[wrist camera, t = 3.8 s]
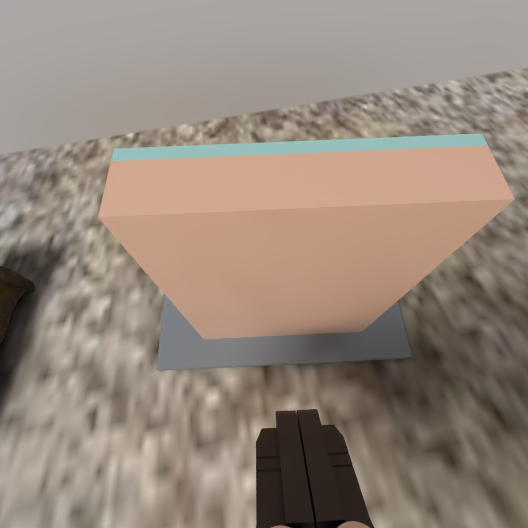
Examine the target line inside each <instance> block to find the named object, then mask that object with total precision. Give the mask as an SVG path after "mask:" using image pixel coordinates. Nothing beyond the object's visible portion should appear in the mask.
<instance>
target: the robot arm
mask: <svg viewBox="0 0 528 528" xmlns="http://www.w3.org/2000/svg"><path fill="white" fill-rule="evenodd" d="M256 506H257V525H256V528H374V526H373V524H372V522H371V520H370V517H369V515H368V511H367V508H366V505H365V502H364V499H363V496H362V493H361V490H360V487H359V483H358V480H357V477H356V474H355V471H354V468H353V466H352V462H351V459H350V455H349V454H348V449H347V446H346V443H345V440H344V437H343V436H342V434H341V433H340V432H339V431H338V430H337V428H336V427H335V426H334V425H321V422H320V418H319V414H318V411H317V409H311V410H297V415H296V411H295V410H294V411H276V428H264V429H262V430H261V432H260V434H259V437H258V439H257V441H256Z"/></svg>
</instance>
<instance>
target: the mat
mask: <svg viewBox="0 0 528 528" xmlns="http://www.w3.org/2000/svg"><path fill="white" fill-rule="evenodd" d="M411 357H412V354H411V350H410V346H409V342H408V338H407V334H406V330H405V326H404V322H403V318H402V314H401V310H400V306H399V302H398V301H397V302H396V303H394V304H393V305H392V306H391V307H390V308H389V309H388V310H386V311H385V312H384V313H383V314H382V315H381V316H379V317H378V318H377V319H376V320H375V321H374V322H373V323H371V324H370V325H369V326H368V327H367V328H366V329H365V330H363V331H362V332H348V333H327V334H306V335H285V336H264V337H243V338H222V339H203V338H202V337H201V336H200V334H199V333H198V332H197V331H196V330H195V329H194V328H193V326H192V325H191V324H190V323H189V322H188V321H187V319H186V318H185V317H184V316H183V315H182V314H181V312H180V311H179V310H178V309H177V308H176V307H175V306H174V304H173V303H172V302H171V301H170V300H169V299H168V297H167V296H166V295H165V294H164V304H163V313H162V323H161V332H160V342H159V351H158V361H157V370H160V371H164V370H184V369H205V368H225V367H246V366H266V365H287V364H307V363H328V362H348V361H369V360H389V359H408V358H411Z"/></svg>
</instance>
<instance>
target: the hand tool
mask: <svg viewBox="0 0 528 528" xmlns="http://www.w3.org/2000/svg"><path fill="white" fill-rule="evenodd" d="M33 290H34V283H33V282H32V281H30V280H28V279H26V278H24V277H23V276H21V275H20V274H18V273H16V272H14V271H12V270H10V269H7V268H4V267H1V266H0V345H1V342H2V341H3V339H4V337H5V334H6V331H7V327H8V323H9V321H10V319H11V316H12V313H13V311H14V308H15V306H16V304H17V302H18V300H19V298H20V297H21V296H22V295H24V294H26V293H30V292H32V291H33Z"/></svg>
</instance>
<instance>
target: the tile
mask: <svg viewBox="0 0 528 528" xmlns="http://www.w3.org/2000/svg"><path fill="white" fill-rule="evenodd" d="M514 199H515V198H514V196H513V194H512V192H511V190H510V188H509V186H508V184H507V182H506V180H505V178H504V176H503V174H502V172H501V170H500V169H499V167H498V165H497V163H496V161H495V159H494V157H493V155H492V153H491V151H490V149H489V147H488V145H487V143H486V141H485V139H484V137H483V135H482V134H460V135H436V136H411V137H387V138H363V139H339V140H315V141H291V142H267V143H243V144H219V145H195V146H171V147H147V148H122V149H114V152H113V156H112V160H111V164H110V169H109V173H108V177H107V182H106V186H105V190H104V194H103V199H102V203H101V207H100V212H99V216H98V218H99V219H100V220H101V221H102V222H103V223H104V225H105V226H106V227H107V228H108V229H109V230H110V231H111V233H112V234H113V235H114V236H115V237H116V238H117V240H118V241H119V242H120V243H121V244H122V245H123V247H124V248H125V249H126V250H127V251H128V252H129V253H130V255H131V256H132V257H133V258H134V259H135V260H136V262H137V263H138V264H139V265H140V266H141V267H142V269H143V270H144V271H145V272H146V273H147V274H148V275H149V277H150V278H151V279H152V280H153V281H154V282H155V284H156V285H157V286H158V287H159V288H160V289H161V290H162V292H163V293H164V294H165V295H166V296H167V297H168V299H169V300H170V301H171V302H172V303H173V304H174V306H175V307H176V308H177V309H178V310H179V311H180V312H181V314H182V315H183V316H184V317H185V318H186V319H187V321H188V322H189V323H190V324H191V325H192V326H193V328H194V329H195V330H196V331H197V332H198V333H199V334H200V336H201V337H202V338H203V339H222V338H243V337H264V336H285V335H306V334H327V333H348V332H362V331H363V330H365V329H366V328H367V327H368V326H369V325H370V324H371V323H373V322H374V321H375V320H376V319H377V318H378V317H379V316H381V315H382V314H383V313H384V312H385V311H386V310H388V309H389V308H390V307H391V306H392V305H393V304H394V303H396V302H397V301H398V300H399V299H400V298H401V297H403V296H404V295H405V294H406V293H407V292H408V291H409V290H411V289H412V288H413V287H414V286H415V285H416V284H418V283H419V282H420V281H421V280H422V279H423V278H424V277H426V276H427V275H428V274H429V273H430V272H431V271H432V270H434V269H435V268H436V267H437V266H438V265H439V264H441V263H442V262H443V261H444V260H445V259H446V258H447V257H449V256H450V255H451V254H452V253H453V252H454V251H456V250H457V249H458V248H459V247H460V246H461V245H462V244H464V243H465V242H466V241H467V240H468V239H469V238H471V237H472V236H473V235H474V234H475V233H476V232H477V231H479V230H480V229H481V228H482V227H483V226H484V225H486V224H487V223H488V222H489V221H490V220H491V219H492V218H494V217H495V216H496V215H497V214H498V213H499V212H500V211H502V210H503V209H504V208H505V207H506V206H507V205H509V204H510V203H511V202H512V201H513V200H514Z"/></svg>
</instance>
